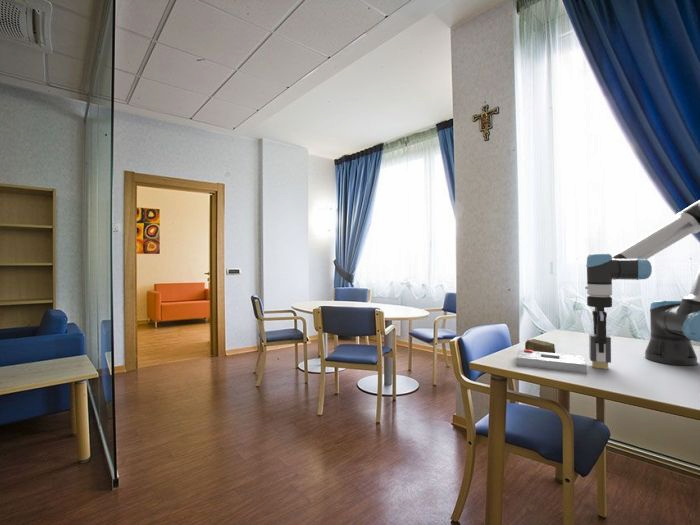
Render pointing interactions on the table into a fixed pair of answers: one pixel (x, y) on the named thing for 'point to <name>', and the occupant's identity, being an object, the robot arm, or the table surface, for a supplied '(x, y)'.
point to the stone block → (539, 346)
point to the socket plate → (551, 361)
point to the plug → (593, 352)
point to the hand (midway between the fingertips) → (599, 359)
